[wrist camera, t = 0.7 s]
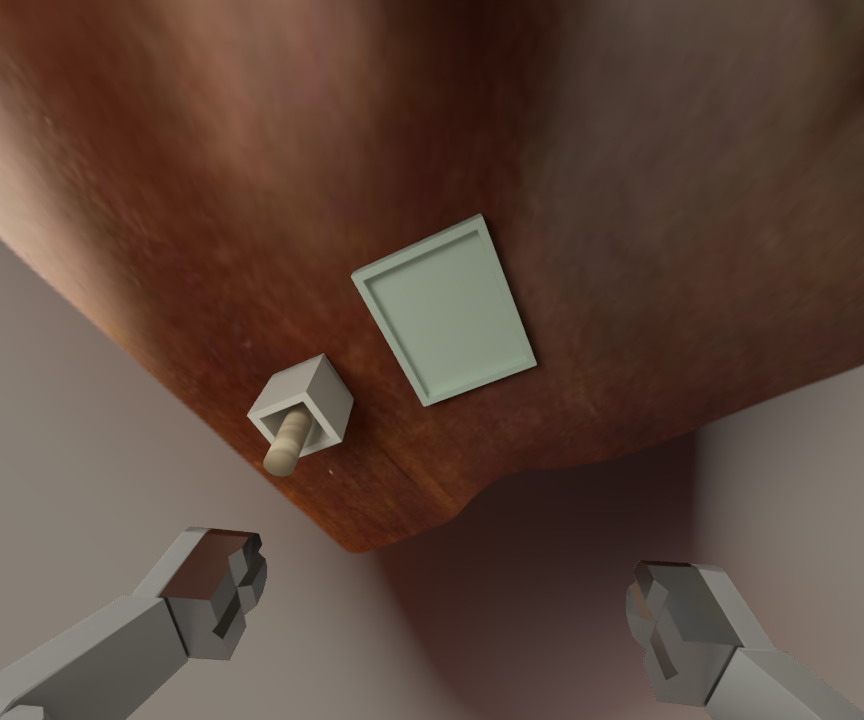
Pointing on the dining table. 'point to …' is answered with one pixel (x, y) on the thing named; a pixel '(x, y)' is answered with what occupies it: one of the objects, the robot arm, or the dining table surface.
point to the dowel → (289, 441)
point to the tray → (447, 312)
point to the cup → (319, 394)
